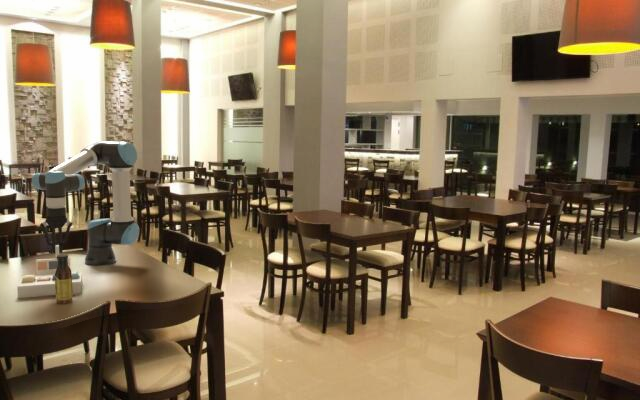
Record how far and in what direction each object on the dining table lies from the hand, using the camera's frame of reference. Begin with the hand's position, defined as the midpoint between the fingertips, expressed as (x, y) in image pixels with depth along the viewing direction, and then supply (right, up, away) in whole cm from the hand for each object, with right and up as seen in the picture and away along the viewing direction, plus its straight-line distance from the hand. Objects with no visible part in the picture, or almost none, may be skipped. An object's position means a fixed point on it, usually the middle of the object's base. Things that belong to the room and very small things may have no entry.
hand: (57, 260), depth 228 cm
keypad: (-3, -13, +1) cm, 14 cm away
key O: (0, -10, +1) cm, 10 cm away
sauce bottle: (+10, -16, -14) cm, 23 cm away
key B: (-6, -12, -1) cm, 13 cm away
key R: (+5, -10, +4) cm, 12 cm away
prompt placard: (-8, -12, +13) cm, 19 cm away
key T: (-11, -10, -3) cm, 15 cm away
